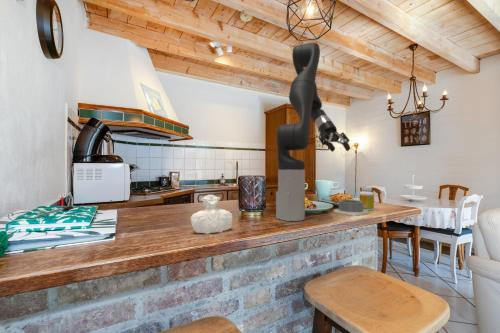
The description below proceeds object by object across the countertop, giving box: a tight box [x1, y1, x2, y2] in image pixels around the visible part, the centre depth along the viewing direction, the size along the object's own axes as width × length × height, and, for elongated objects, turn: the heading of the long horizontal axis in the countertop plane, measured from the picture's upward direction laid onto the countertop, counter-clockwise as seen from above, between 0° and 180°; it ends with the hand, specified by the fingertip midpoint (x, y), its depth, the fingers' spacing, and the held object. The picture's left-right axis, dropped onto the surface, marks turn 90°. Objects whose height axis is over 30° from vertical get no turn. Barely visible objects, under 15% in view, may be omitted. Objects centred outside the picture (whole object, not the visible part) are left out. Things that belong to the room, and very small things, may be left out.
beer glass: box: [359, 186, 375, 212], centre depth 101 cm, size 5×5×10 cm
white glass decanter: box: [189, 194, 233, 235], centre depth 68 cm, size 12×8×11 cm
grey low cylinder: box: [333, 199, 369, 217], centre depth 94 cm, size 9×9×4 cm
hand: (341, 149), depth 108 cm, fingers open, 8 cm apart
